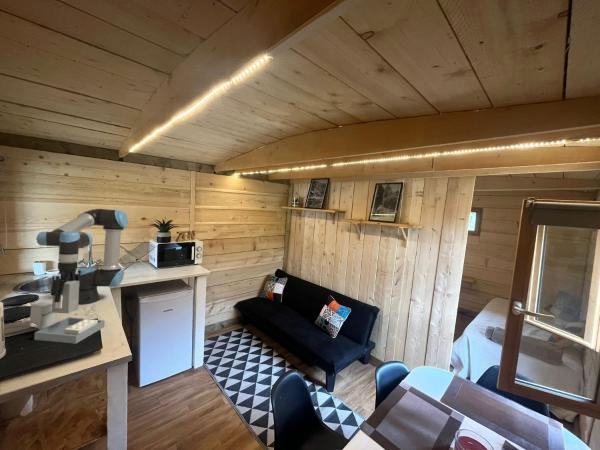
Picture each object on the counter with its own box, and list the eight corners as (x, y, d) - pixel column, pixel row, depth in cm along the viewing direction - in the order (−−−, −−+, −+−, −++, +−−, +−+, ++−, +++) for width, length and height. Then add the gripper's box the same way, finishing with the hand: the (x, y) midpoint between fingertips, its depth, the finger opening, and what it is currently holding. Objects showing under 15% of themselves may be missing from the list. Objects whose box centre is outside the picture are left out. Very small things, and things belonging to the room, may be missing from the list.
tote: (68, 325, 139) (68, 317, 139) (104, 328, 139) (104, 320, 139) (34, 341, 121) (34, 332, 121) (75, 345, 121) (76, 336, 121)
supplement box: (39, 329, 132) (41, 306, 131) (29, 327, 133) (30, 304, 133) (55, 324, 139) (57, 301, 138) (45, 321, 140) (46, 299, 140)
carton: (84, 328, 136) (85, 317, 136) (97, 329, 136) (97, 318, 136) (63, 338, 124) (64, 327, 124) (78, 340, 124) (78, 328, 124)
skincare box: (78, 309, 133) (81, 280, 133) (66, 314, 126) (70, 283, 126) (61, 308, 133) (65, 279, 133) (49, 313, 125) (52, 282, 126)
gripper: (77, 257, 138) (74, 298, 139) (41, 264, 119) (38, 311, 120) (91, 259, 139) (88, 299, 139) (57, 266, 119) (54, 313, 120)
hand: (65, 305), depth 130 cm, fingers closed on skincare box, 7 cm apart
